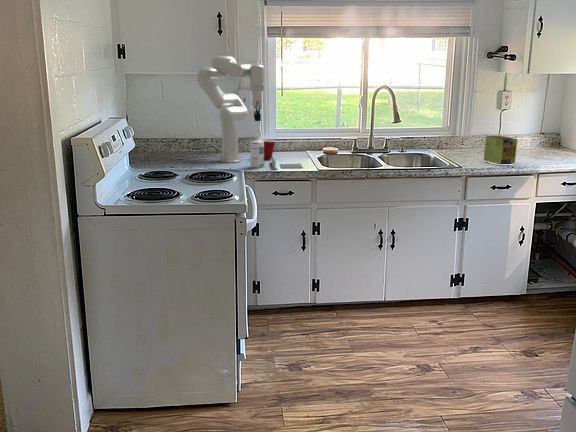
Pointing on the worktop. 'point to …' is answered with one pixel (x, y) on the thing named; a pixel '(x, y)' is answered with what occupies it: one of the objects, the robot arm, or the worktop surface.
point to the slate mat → (291, 166)
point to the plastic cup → (268, 147)
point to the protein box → (500, 149)
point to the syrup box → (257, 153)
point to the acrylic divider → (273, 163)
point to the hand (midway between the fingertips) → (257, 120)
